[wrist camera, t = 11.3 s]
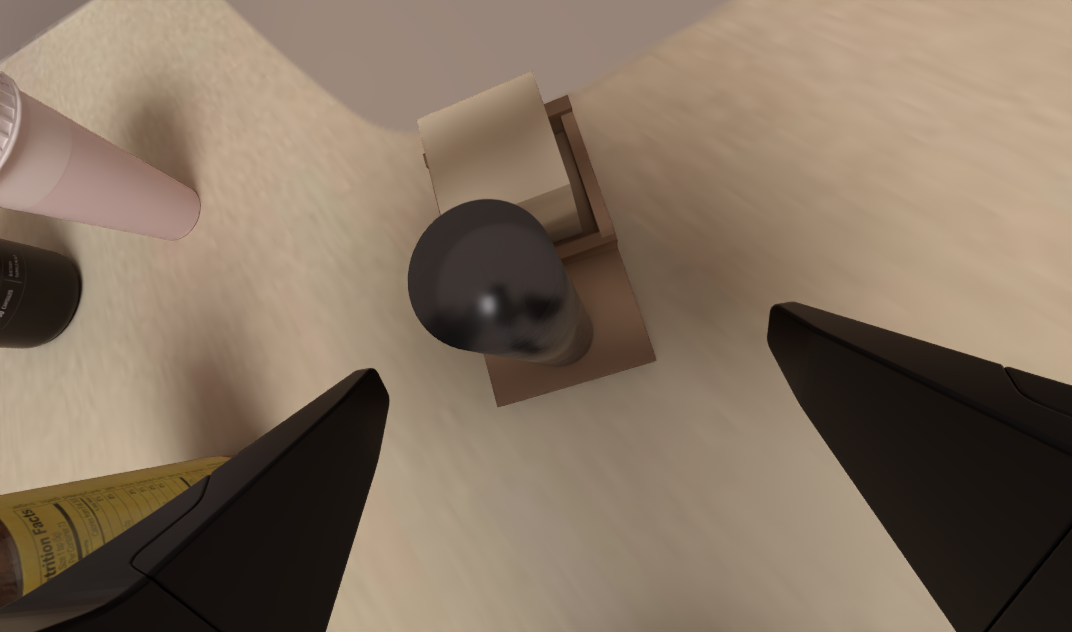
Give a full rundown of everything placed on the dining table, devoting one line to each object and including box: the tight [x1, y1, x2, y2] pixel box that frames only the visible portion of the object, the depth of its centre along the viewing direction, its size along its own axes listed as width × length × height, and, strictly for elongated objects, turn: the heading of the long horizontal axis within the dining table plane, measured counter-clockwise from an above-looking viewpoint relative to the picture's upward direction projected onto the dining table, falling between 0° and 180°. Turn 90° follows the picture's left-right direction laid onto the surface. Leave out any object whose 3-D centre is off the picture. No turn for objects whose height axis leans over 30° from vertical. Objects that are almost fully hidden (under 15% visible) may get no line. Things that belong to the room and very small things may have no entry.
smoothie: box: [0, 72, 200, 240], centre depth 20 cm, size 6×6×14 cm
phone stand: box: [408, 95, 656, 407], centre depth 15 cm, size 13×8×12 cm, turn 16°
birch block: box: [417, 71, 582, 243], centre depth 18 cm, size 5×5×5 cm
